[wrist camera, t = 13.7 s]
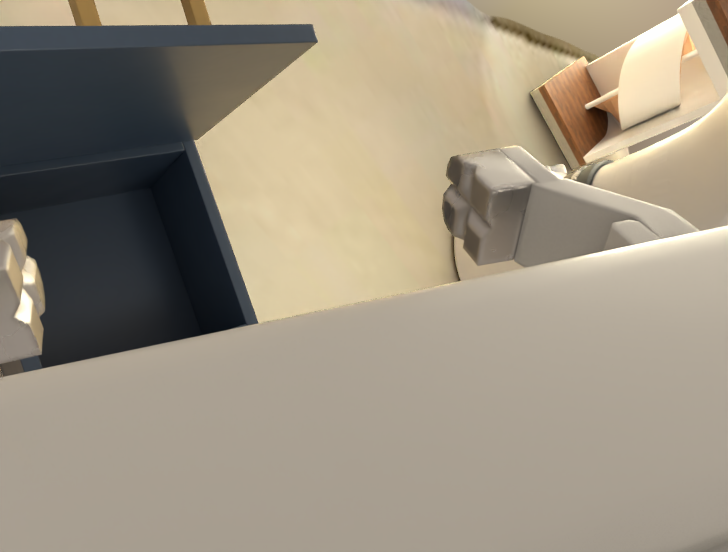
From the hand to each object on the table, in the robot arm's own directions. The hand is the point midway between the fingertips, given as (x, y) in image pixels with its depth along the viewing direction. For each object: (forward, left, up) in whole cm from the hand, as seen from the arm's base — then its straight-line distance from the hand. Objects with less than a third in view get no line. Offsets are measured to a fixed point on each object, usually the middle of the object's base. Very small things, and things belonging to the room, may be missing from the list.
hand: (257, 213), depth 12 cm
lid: (-5, -9, -16) cm, 19 cm away
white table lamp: (-66, -9, -31) cm, 73 cm away
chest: (-5, -3, -31) cm, 32 cm away
